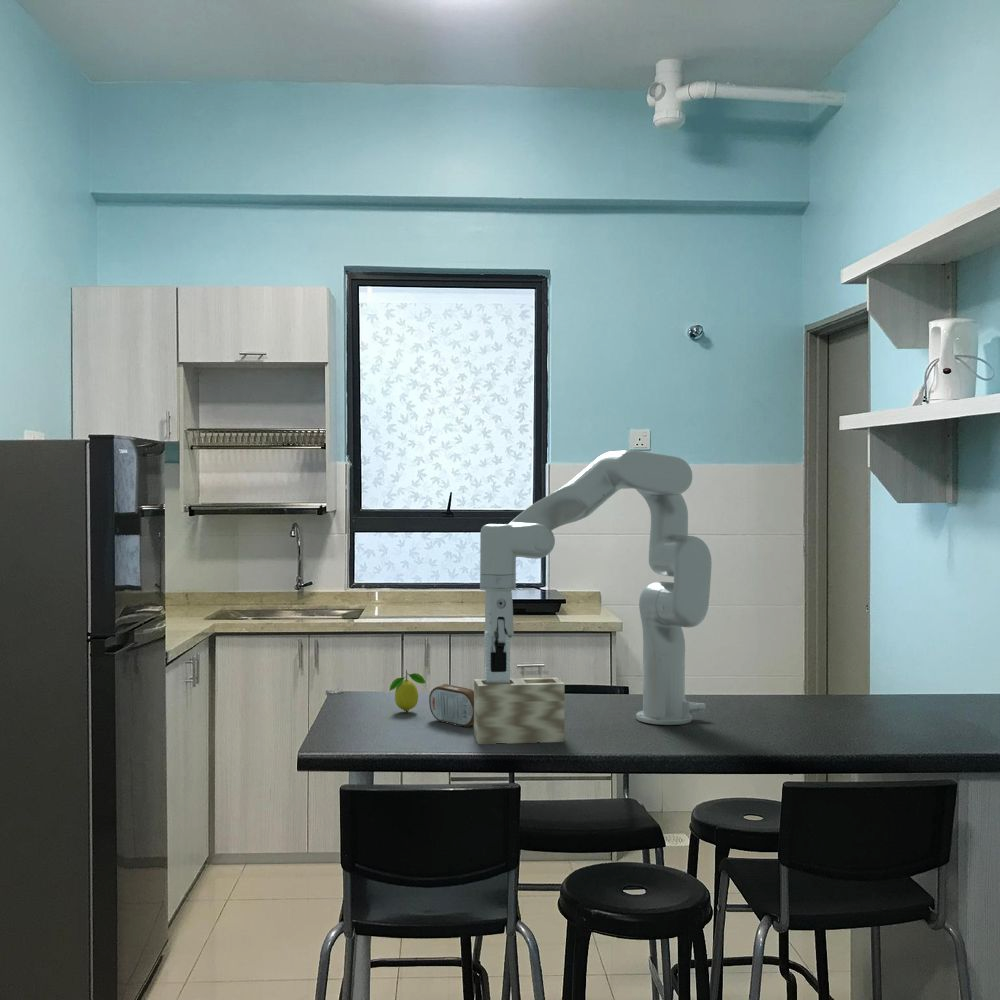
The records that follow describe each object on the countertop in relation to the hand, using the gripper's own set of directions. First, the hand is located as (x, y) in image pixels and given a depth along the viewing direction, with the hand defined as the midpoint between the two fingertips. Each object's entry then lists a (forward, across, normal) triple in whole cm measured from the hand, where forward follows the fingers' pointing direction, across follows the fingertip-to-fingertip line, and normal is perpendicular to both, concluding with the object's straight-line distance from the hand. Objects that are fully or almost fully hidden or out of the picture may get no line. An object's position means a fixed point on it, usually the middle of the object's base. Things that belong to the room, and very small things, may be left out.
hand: (497, 669), depth 210 cm
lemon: (+15, +30, +17) cm, 38 cm away
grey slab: (+4, 0, 0) cm, 4 cm away
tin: (+15, +16, +7) cm, 23 cm away
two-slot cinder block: (+15, 0, -5) cm, 15 cm away
